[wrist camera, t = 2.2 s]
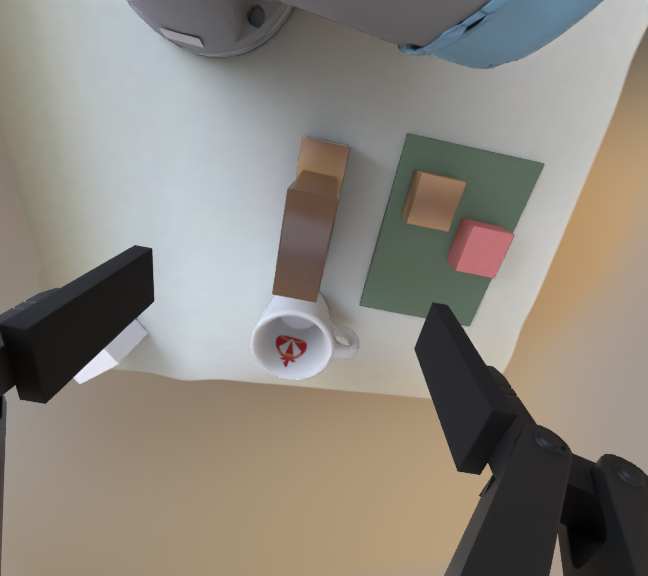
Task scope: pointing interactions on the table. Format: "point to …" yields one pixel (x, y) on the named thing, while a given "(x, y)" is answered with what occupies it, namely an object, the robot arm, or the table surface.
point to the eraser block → (479, 248)
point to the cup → (299, 338)
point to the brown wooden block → (309, 218)
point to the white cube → (113, 352)
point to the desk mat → (434, 245)
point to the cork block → (432, 200)
